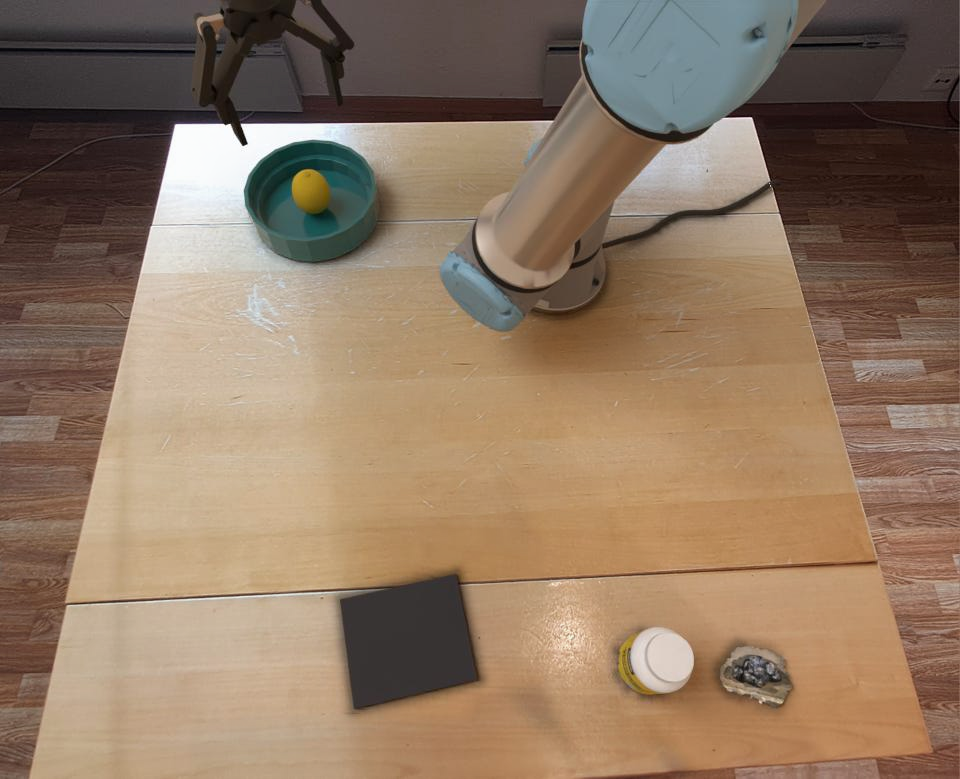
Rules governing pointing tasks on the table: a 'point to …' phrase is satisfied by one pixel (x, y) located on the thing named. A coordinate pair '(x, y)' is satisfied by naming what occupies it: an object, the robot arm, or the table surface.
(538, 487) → the table surface
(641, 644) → the pill bottle
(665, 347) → the table surface
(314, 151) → the bowl
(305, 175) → the lemon
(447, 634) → the mat
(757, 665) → the mineral rock
